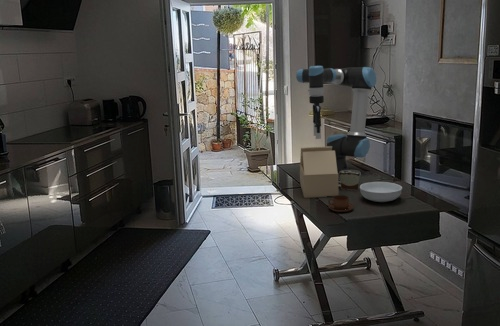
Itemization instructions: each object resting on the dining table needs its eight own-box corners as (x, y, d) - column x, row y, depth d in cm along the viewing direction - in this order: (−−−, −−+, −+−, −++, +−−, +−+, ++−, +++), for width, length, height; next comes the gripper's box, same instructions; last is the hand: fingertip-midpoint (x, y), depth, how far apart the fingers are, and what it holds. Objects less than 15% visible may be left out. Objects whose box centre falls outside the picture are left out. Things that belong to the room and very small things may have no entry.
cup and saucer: (330, 214, 226) (330, 202, 225) (326, 206, 238) (326, 194, 236) (356, 213, 226) (356, 200, 225) (350, 205, 238) (350, 193, 236)
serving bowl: (410, 200, 240) (411, 187, 238) (380, 209, 230) (380, 195, 228) (380, 191, 257) (380, 179, 256) (350, 198, 248) (350, 185, 246)
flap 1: (330, 162, 277) (330, 161, 277) (332, 147, 266) (331, 146, 266) (300, 163, 277) (300, 162, 278) (301, 148, 266) (300, 147, 267)
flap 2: (334, 151, 256) (334, 150, 255) (337, 174, 249) (337, 173, 249) (302, 152, 256) (302, 151, 256) (304, 175, 250) (304, 175, 249)
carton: (331, 182, 279) (330, 162, 277) (338, 196, 252) (338, 174, 249) (300, 183, 280) (299, 163, 277) (304, 197, 253) (303, 175, 250)
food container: (363, 187, 266) (363, 170, 263) (360, 190, 260) (360, 172, 258) (341, 186, 271) (341, 168, 268) (338, 189, 265) (338, 171, 263)
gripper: (307, 94, 265) (308, 134, 270) (311, 97, 244) (312, 141, 249) (321, 93, 265) (321, 133, 270) (326, 97, 243) (326, 140, 249)
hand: (317, 137), depth 259 cm, fingers open, 9 cm apart
